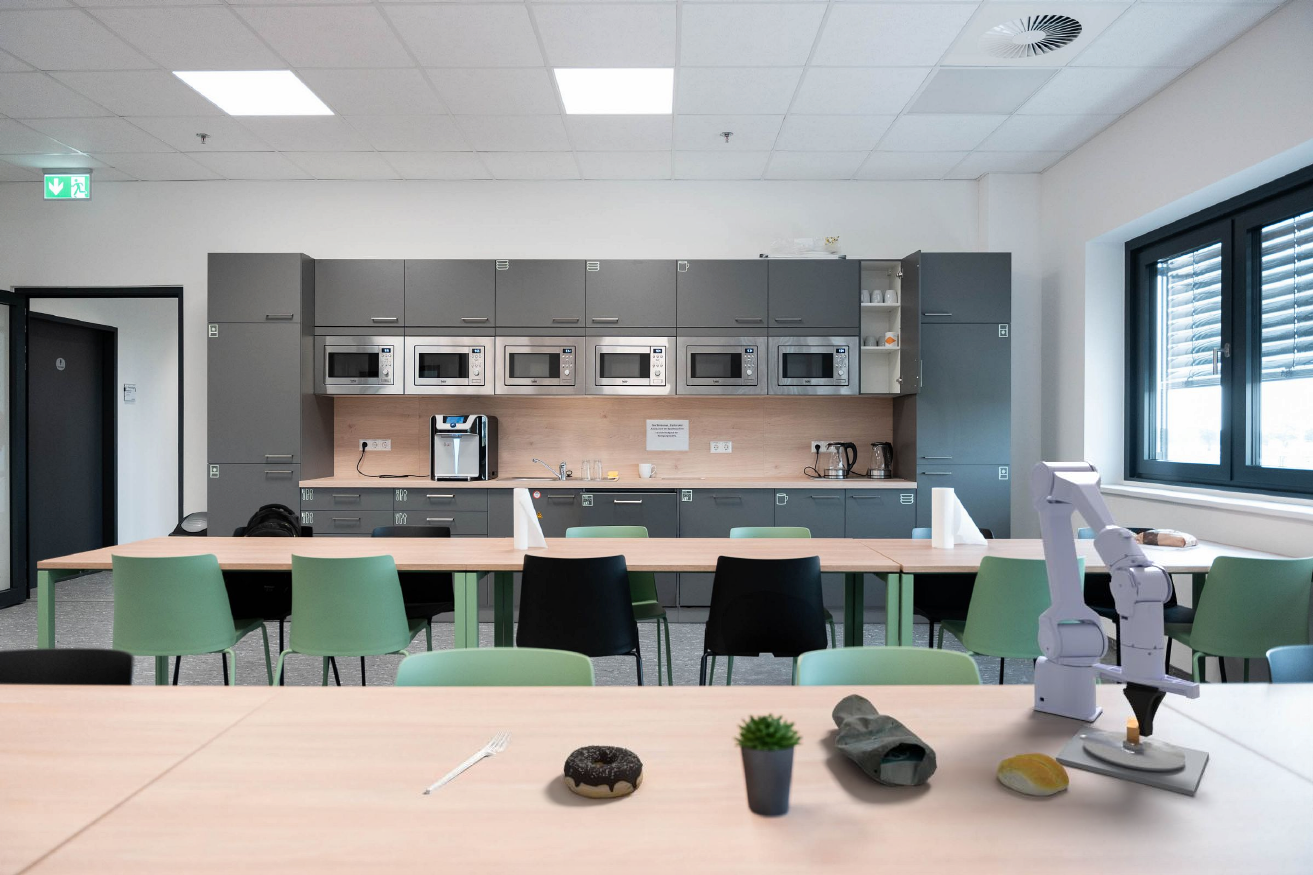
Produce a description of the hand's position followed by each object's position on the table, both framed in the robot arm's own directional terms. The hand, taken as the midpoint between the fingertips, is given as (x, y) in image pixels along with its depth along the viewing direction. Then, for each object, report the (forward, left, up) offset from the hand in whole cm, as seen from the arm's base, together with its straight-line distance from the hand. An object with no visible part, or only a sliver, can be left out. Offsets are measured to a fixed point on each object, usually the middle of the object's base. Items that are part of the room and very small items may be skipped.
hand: (1145, 734), depth 119 cm
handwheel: (-1, -4, -3) cm, 5 cm away
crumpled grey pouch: (-31, -27, -3) cm, 42 cm away
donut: (-56, -61, -3) cm, 83 cm away
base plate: (-1, -4, -3) cm, 5 cm away
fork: (-75, -70, -3) cm, 102 cm away
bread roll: (-10, -22, -3) cm, 25 cm away
